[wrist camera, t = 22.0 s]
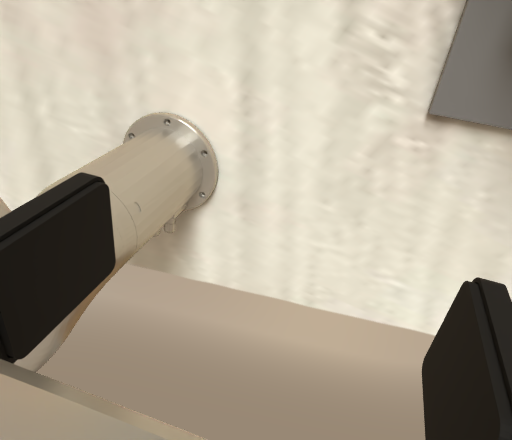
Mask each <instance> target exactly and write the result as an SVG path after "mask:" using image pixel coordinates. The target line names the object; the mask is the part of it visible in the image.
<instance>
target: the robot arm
mask: <svg viewBox="0 0 512 440" xmlns="http://www.w3.org/2000/svg"><path fill="white" fill-rule="evenodd" d="M169 120H170V121H169ZM206 151H207V152H206ZM217 178H218V166H217V160H216V157H215V153H214V151H213V149H212V147H211V145H210V143H209V141H208V140H207V138H206V137H205V136H204V134H203V133H202V132H201V131H200V130H199V129H198V128H197V127H196V126H195V125H193V124H192V123H190V122H189V121H188V120H186V119H184V118H182V117H180V116H177V115H174V114H170V113H160V112H159V113H153V114H149V115H147V116H144V117H142V118H140V119H139V120H137V121H136V122H135V123H133V124H132V125H131V126H130V128H129V129H128V131H127V132H126V135H125V138H124V141H123V144H122V145H120V146H119V147H117V148H115V149H113V150H111V151H110V152H108V153H106V154H104V155H103V156H101V157H99V158H97V159H95V160H94V161H92V162H90V163H88V164H87V165H85V166H83V167H81V168H79V169H78V170H76V171H74V172H72V173H71V174H69V175H67V176H65V177H63V178H62V179H60V180H58V181H56V182H55V183H53V184H51V185H50V186H48V187H47V188H45V189H44V190H43V191H42V192H41V193H40V194H39V195H38V196H37V197H36V198H34V199H32V200H31V201H29V202H27V203H25V204H24V205H22V206H20V207H18V208H17V209H15V210H13V211H11V210H10V209H9V208H8V207H7V205H6V204H5V203H4V202H3V200H2V199H1V198H0V440H208V439H205V438H203V437H200V436H197V435H195V434H192V433H190V432H187V431H184V430H182V429H180V428H177V427H175V426H172V425H169V424H167V423H164V422H162V421H159V420H156V419H154V418H151V417H149V416H146V415H144V414H141V413H139V412H136V411H134V410H131V409H129V408H126V407H123V406H121V405H118V404H116V403H113V402H110V401H108V400H105V399H103V398H100V397H97V396H95V395H93V394H90V393H87V392H85V391H82V390H80V389H77V388H74V387H72V386H69V385H67V384H64V383H62V382H59V381H56V380H54V379H51V378H49V377H46V376H43V375H41V374H38V373H36V372H37V371H38V370H39V369H40V368H41V367H42V366H43V365H44V364H45V363H46V362H47V361H48V360H49V359H50V358H51V357H52V356H53V355H54V353H56V351H57V350H58V349H59V347H60V346H61V345H62V343H63V342H64V341H65V339H66V338H67V337H68V335H69V334H70V332H71V331H72V329H73V327H74V326H75V324H76V323H77V321H78V320H79V318H80V317H81V315H82V314H83V312H84V311H85V309H86V308H87V307H88V305H89V304H90V302H91V301H92V300H93V299H94V297H95V296H96V294H97V293H98V292H99V291H100V290H101V289H102V288H103V286H104V285H105V284H106V283H107V282H108V281H109V280H110V279H111V277H113V276H114V275H115V274H116V272H117V271H118V270H119V269H120V268H121V267H122V266H123V265H124V264H125V263H126V262H127V261H128V260H129V259H130V258H131V257H132V256H133V255H134V254H135V253H136V252H137V251H138V250H139V249H140V248H141V247H142V246H143V245H144V244H145V243H146V242H147V241H148V240H149V239H150V238H151V237H154V236H158V235H159V234H160V228H161V227H162V226H163V225H164V230H165V232H167V233H173V232H174V231H175V218H176V217H177V216H178V215H179V214H180V213H181V212H182V211H188V210H191V209H194V208H196V207H198V206H200V205H201V204H203V203H204V202H205V201H206V200H207V199H208V198H209V197H210V195H211V194H212V192H213V190H214V189H215V186H216V183H217ZM422 384H423V401H424V419H425V437H426V440H512V302H511V299H510V296H509V293H508V290H507V288H506V286H505V285H504V284H501V283H497V282H493V281H489V280H486V279H482V278H475V279H474V280H473V281H472V282H469V281H465V282H464V283H463V284H462V286H461V288H460V290H459V292H458V294H457V296H456V298H455V299H454V301H453V303H452V305H451V307H450V309H449V311H448V313H447V315H446V317H445V319H444V321H443V323H442V325H441V327H440V329H439V330H438V332H437V334H436V336H435V338H434V340H433V342H432V344H431V346H430V348H429V350H428V352H427V354H426V356H425V358H424V361H423V366H422Z"/></svg>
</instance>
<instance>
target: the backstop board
mask: <svg viewBox="0 0 512 440" xmlns="http://www.w3.org/2000/svg"><path fill="white" fill-rule="evenodd" d="M429 114H434V115H439V116H444V117H449V118H454V119H459V120H464V121H470V122H475V123H480V124H485V125H490V126H495V127H500V128H506V129H511V130H512V0H467V2H466V5H465V8H464V10H463V13H462V16H461V19H460V22H459V25H458V28H457V30H456V33H455V36H454V39H453V42H452V45H451V48H450V51H449V53H448V56H447V59H446V62H445V65H444V68H443V71H442V73H441V76H440V79H439V82H438V85H437V88H436V91H435V93H434V96H433V99H432V102H431V105H430V108H429Z"/></svg>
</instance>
